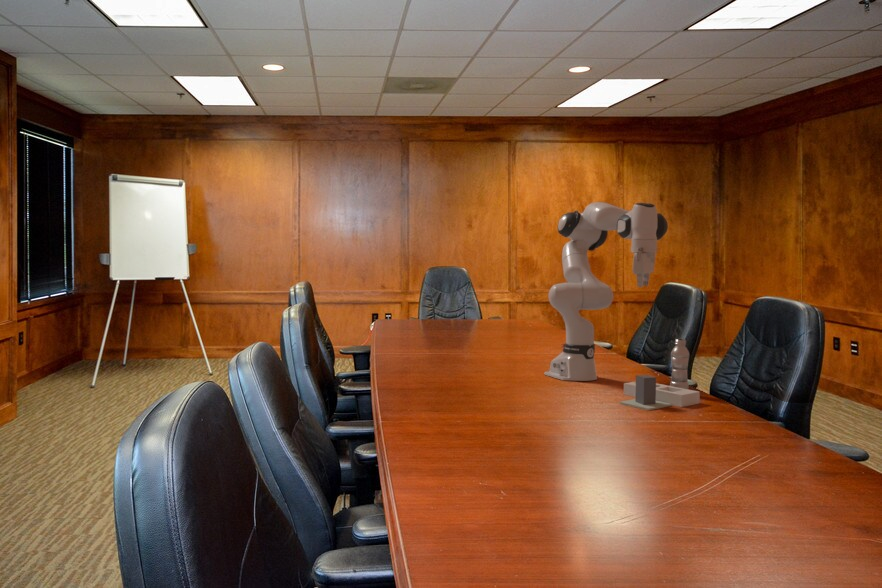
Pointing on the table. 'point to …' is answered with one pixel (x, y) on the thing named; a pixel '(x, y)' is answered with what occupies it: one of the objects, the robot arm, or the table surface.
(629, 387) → the grey holed block
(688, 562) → the table surface
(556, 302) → the robot arm
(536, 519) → the table surface
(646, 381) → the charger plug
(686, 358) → the plastic bottle
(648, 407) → the mat
